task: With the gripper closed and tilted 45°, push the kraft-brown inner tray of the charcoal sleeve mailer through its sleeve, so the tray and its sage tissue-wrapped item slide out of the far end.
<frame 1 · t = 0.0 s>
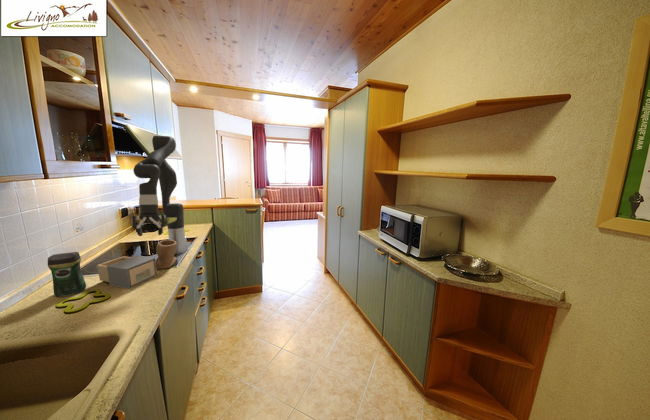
hand: (150, 235, 117), 22 cm above the table, tool pointing down, fingers open, 8 cm apart
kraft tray: (127, 270, 116), point 5 cm above the table, slide at 0.0 cm
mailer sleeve: (134, 280, 116), on the table
coffee jar: (71, 292, 104), on the table
stone cup: (167, 265, 135), on the table
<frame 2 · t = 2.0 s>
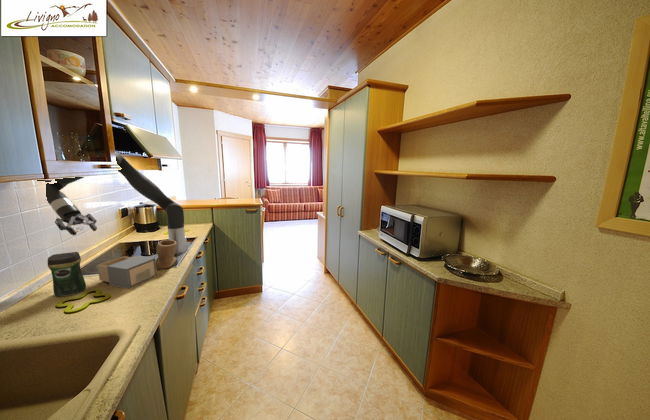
hand: (85, 232, 118), 23 cm above the table, tool tilted 45°, fingers open, 8 cm apart
nothing on the table moved.
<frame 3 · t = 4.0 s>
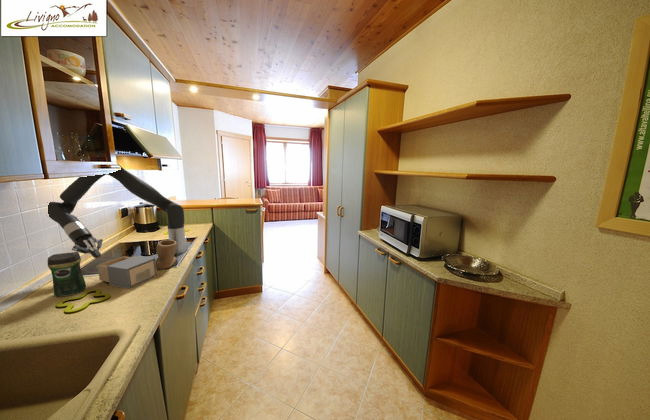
hand: (98, 256, 119), 10 cm above the table, tool tilted 45°, fingers closed
nothing on the table moved.
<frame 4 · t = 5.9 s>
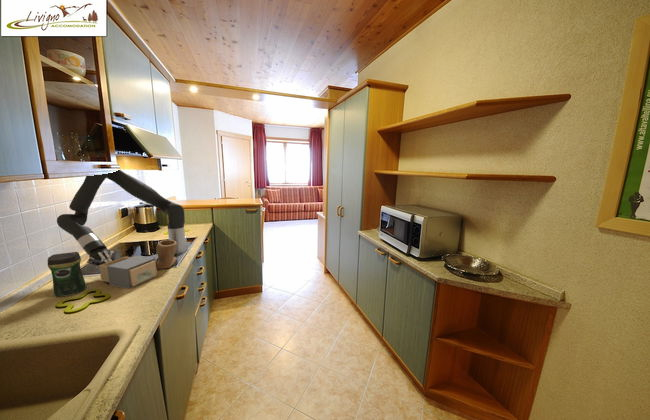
hand: (113, 269, 118), 4 cm above the table, tool tilted 45°, fingers closed
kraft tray: (128, 270, 115), point 5 cm above the table, slide at 1.1 cm, touching gripper
everything else where it was.
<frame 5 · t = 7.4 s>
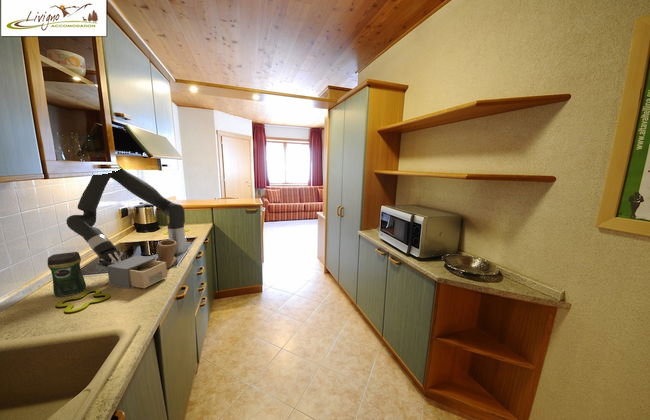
hand: (123, 270, 116), 4 cm above the table, tool tilted 45°, fingers closed
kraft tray: (139, 272, 114), point 5 cm above the table, slide at 7.9 cm, touching gripper
everything else where it was.
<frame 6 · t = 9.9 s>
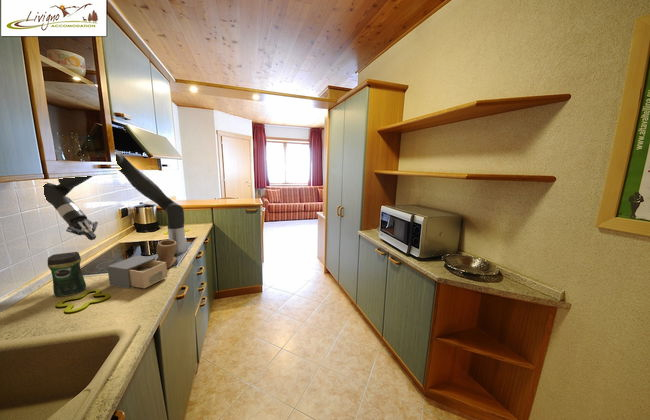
hand: (93, 238, 117), 20 cm above the table, tool tilted 45°, fingers closed
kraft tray: (139, 272, 114), point 5 cm above the table, slide at 8.0 cm
everything else where it was.
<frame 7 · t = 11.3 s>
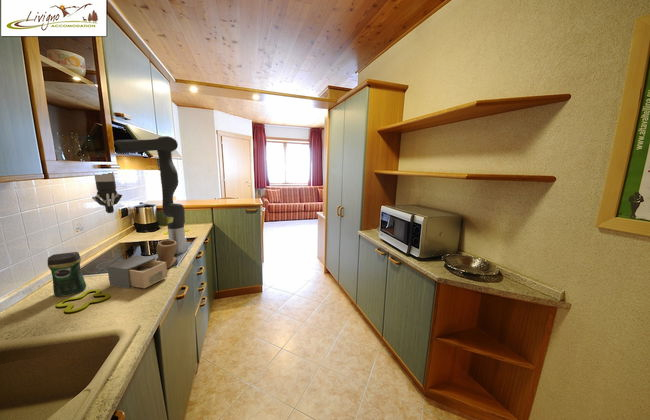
hand: (110, 212, 122), 32 cm above the table, tool pointing down, fingers closed
nothing on the table moved.
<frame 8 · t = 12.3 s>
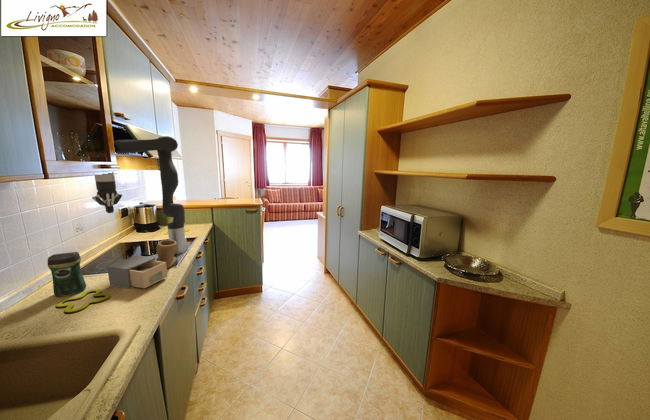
hand: (110, 212, 122), 32 cm above the table, tool pointing down, fingers closed
nothing on the table moved.
at the end: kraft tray slide at 8.0 cm; coffee jar moved 0.2 cm from its start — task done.
